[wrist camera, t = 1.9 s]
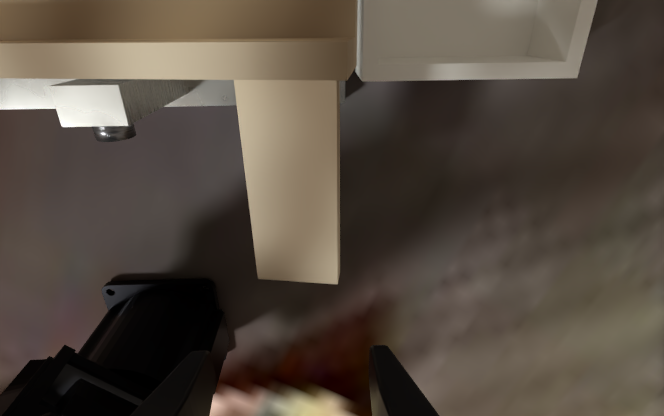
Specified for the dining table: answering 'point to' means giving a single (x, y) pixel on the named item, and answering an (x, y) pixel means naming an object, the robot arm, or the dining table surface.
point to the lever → (250, 89)
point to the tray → (471, 39)
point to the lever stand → (114, 100)
